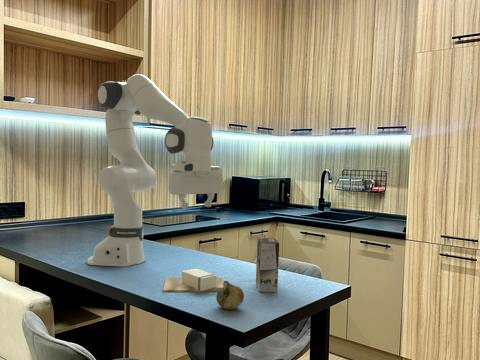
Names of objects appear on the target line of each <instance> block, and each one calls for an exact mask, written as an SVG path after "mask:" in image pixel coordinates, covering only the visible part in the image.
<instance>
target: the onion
mask: <svg viewBox="0 0 480 360" xmlns="http://www.w3.org/2000/svg"><path fill="white" fill-rule="evenodd" d="M222 284H223V287H221V288H220V287H216V291H218V292H217V293H216V297H215V299H216V303H217V304H218V305H219V307H220V308H222V309H224V310H236V309H237V308H238V307H240V305H241V304H242V303H243V301H244V298H245V294H244V291H243V289H242V288H241V287H240V286H237V285H235V284H232V283H230V281H228V280H224V283H222Z"/></svg>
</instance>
